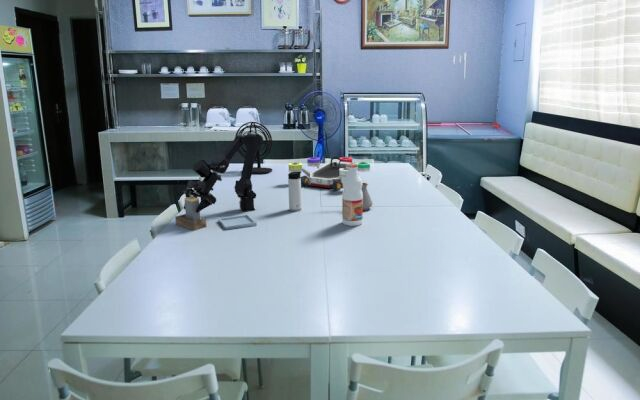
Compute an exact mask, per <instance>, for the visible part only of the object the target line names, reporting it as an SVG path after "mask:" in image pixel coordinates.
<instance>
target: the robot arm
mask: <svg viewBox="0 0 640 400" xmlns="http://www.w3.org/2000/svg"><path fill="white" fill-rule="evenodd" d="M261 136H262V135H261ZM261 136H260V134H259V133H257V134H255V133H253V132H251V133H250V132H249V134H247V133H246V134H244V135H243V134H242V135H237V136H236V135H235V137H234V139H233V140H232V142H231V143H230V144H229V145H228V146H227V148H225V149H224V151H223V152H222V153H221V154H220V155H219V156H218V157H216V158H214V159H213V160H212V161H211V162H210V163H208V162H206V161H205V160H204V159H202V158H201V159H200V160H199V161H196V163H194V164H193V166H192V171H193V172H195V173H196V174H197V175H198V176H199V177H200V178H202V180H197V181H194V180H191V179H190V180H188V182H187V187H185V188H184V189H183V193H184V196H185V198H187V197H196V198H199V199H200V201H199V205H198V207H197V209H196V211H195V212H196V213H198V212H200V213H201V212H202V211H203V210H204V209H206V208H208V207H210V206H212V205H215V204H216V203H217V197H215V196H214V195H213V194H212V193H211V192H212V191H214V186H215V184H216V183H217V181H218V182H222V181H223V179H222V175H221V174H225V172H226V171H227V170H228V168H229V166H230V162H231V161H232V159H233V158H234V157H235V155H236V154H237V153H238V150H239V149H241V146H243V145H244V146H245V150H246V153H244V154H245V155H244V156H245V158H243V159H244V160H243V166H242V170H241V176H240V178H239V179H238V180H237V179H236V180H235V184H234V187H233V188H234V192H235V194H236V195H237V197H238V199H239V198H240V199H239V202H238V203H239V204H238V205H239V209H240V210H241V211H242V212H249V211H256V208H255V202H254V201H255V200H254V199H256V198H257V193H256V192H255V191H253V183H252V180H251V179H252V170H253V167H254V165H255V164H254V163H255V161H254V159H255V156H256V151H257V150H258V149H259V148H260V147H261V142H262V138H261ZM244 143H245V144H244ZM217 173H218V174H217ZM183 205H184V206H183V210H185V203H184V204H183Z"/></svg>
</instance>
